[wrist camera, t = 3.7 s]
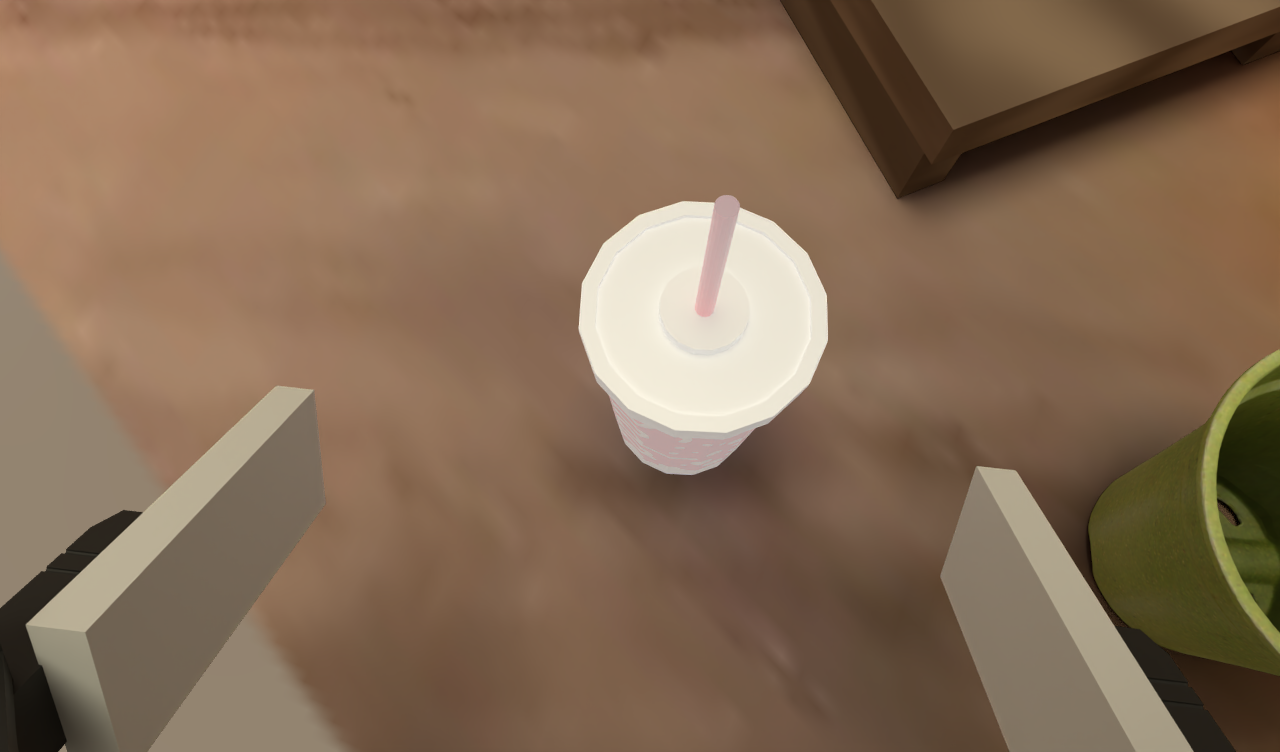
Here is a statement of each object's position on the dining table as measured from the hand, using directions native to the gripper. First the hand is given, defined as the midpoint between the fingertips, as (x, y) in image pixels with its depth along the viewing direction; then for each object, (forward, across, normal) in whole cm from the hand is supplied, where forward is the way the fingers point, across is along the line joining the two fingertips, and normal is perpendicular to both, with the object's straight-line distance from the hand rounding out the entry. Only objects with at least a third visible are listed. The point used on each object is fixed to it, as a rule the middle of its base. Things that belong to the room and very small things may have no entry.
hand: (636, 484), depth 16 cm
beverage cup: (+11, +1, -4) cm, 12 cm away
